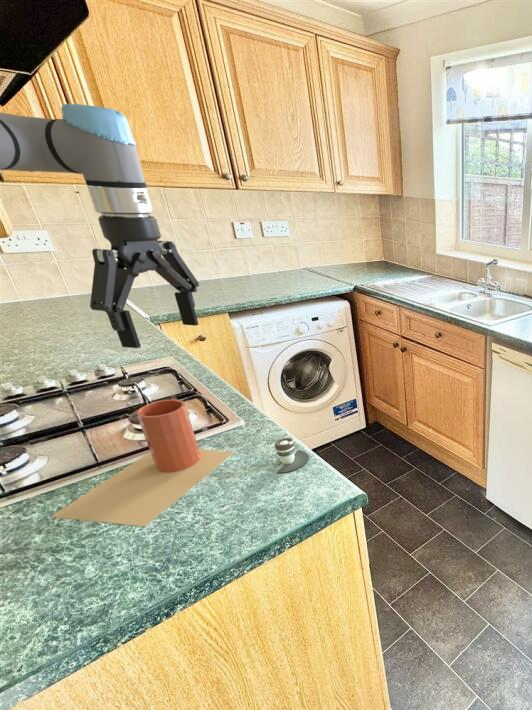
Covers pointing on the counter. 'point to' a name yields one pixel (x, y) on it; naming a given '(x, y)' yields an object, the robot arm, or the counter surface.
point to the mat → (140, 491)
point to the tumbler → (169, 435)
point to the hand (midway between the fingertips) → (163, 335)
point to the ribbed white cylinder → (290, 455)
